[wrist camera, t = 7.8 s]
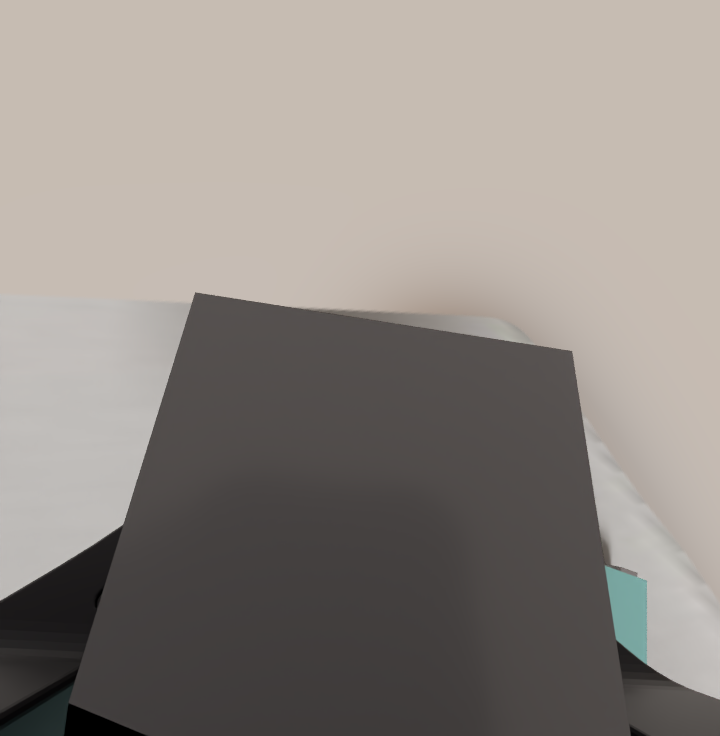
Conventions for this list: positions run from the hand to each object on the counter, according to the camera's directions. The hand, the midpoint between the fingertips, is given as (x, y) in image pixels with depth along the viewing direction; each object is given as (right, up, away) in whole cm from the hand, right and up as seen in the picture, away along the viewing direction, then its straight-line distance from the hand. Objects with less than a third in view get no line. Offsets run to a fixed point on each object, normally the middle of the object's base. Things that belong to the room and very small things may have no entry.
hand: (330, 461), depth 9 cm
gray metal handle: (-1, -4, +6) cm, 7 cm away
